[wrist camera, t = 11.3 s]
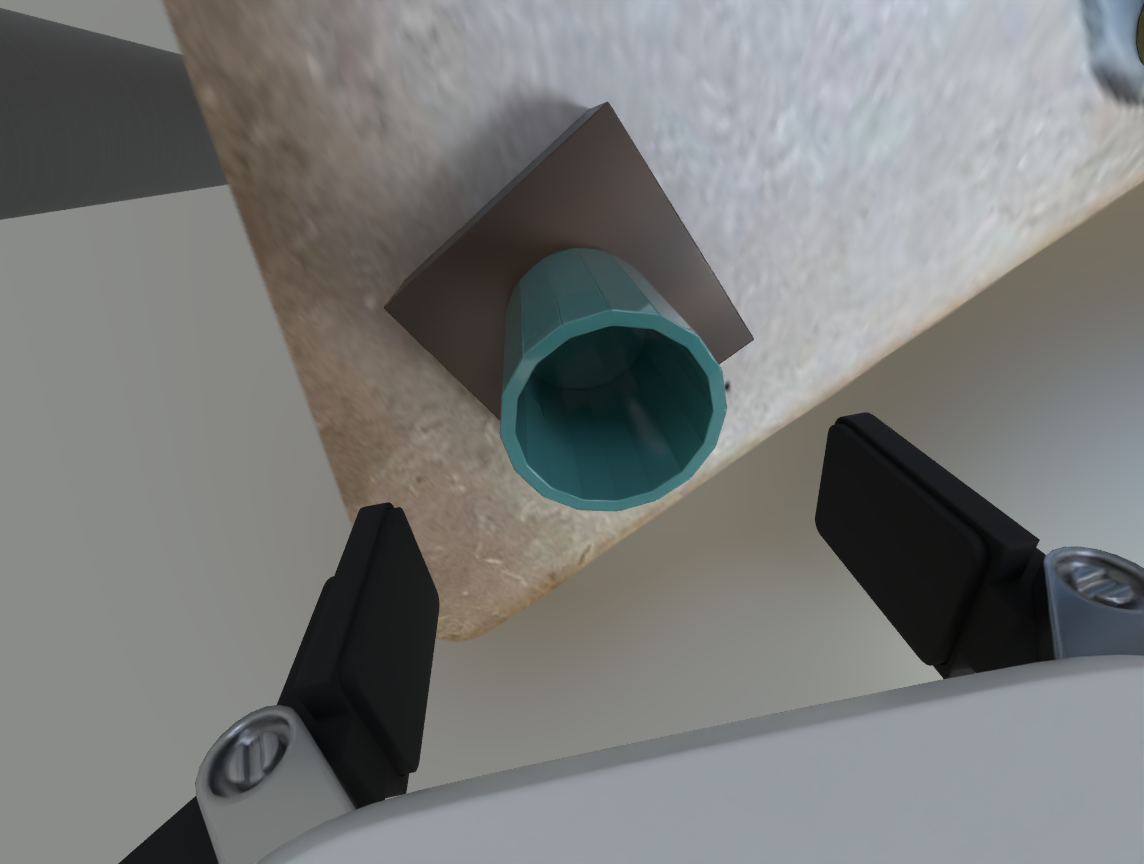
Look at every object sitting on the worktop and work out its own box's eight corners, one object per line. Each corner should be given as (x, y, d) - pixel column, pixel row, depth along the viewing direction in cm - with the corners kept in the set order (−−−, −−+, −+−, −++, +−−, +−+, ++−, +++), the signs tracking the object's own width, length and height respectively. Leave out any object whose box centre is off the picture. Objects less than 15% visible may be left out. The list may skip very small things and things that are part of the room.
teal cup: (473, 316, 22) (450, 413, 14) (595, 211, 20) (645, 256, 12) (568, 417, 25) (592, 543, 17) (680, 333, 23) (764, 431, 15)
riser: (405, 279, 25) (382, 308, 21) (590, 108, 22) (608, 100, 18) (553, 431, 31) (559, 478, 27) (718, 308, 28) (754, 339, 24)
